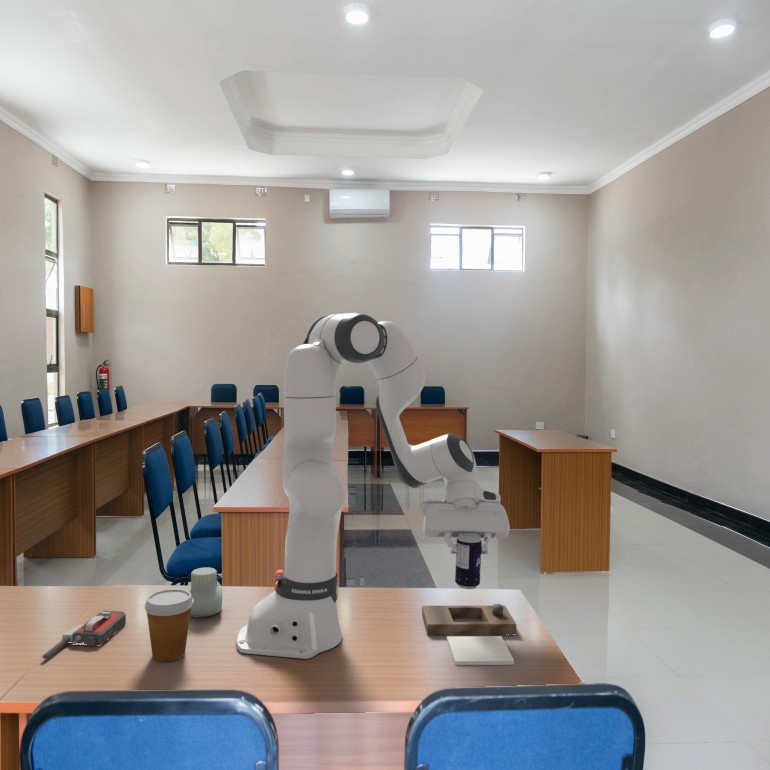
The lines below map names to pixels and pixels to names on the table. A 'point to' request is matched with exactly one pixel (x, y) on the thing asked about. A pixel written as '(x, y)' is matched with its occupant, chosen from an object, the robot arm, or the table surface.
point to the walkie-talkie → (92, 630)
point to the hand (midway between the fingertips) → (469, 552)
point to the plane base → (492, 617)
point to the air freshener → (205, 592)
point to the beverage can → (468, 560)
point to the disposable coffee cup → (168, 623)
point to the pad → (479, 650)
